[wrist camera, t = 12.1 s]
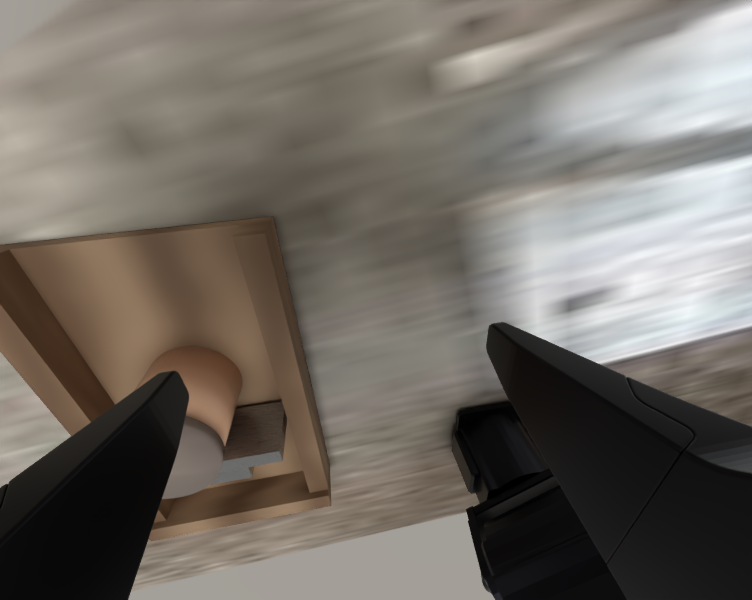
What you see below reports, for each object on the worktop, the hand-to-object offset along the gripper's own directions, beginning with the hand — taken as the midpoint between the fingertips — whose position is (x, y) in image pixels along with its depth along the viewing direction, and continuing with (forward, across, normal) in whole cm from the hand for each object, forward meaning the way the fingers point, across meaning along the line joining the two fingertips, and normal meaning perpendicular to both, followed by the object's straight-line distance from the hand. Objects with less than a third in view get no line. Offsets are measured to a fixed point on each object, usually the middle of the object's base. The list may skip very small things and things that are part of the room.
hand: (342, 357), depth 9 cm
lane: (+11, +10, +10) cm, 18 cm away
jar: (+10, +10, +8) cm, 16 cm away
